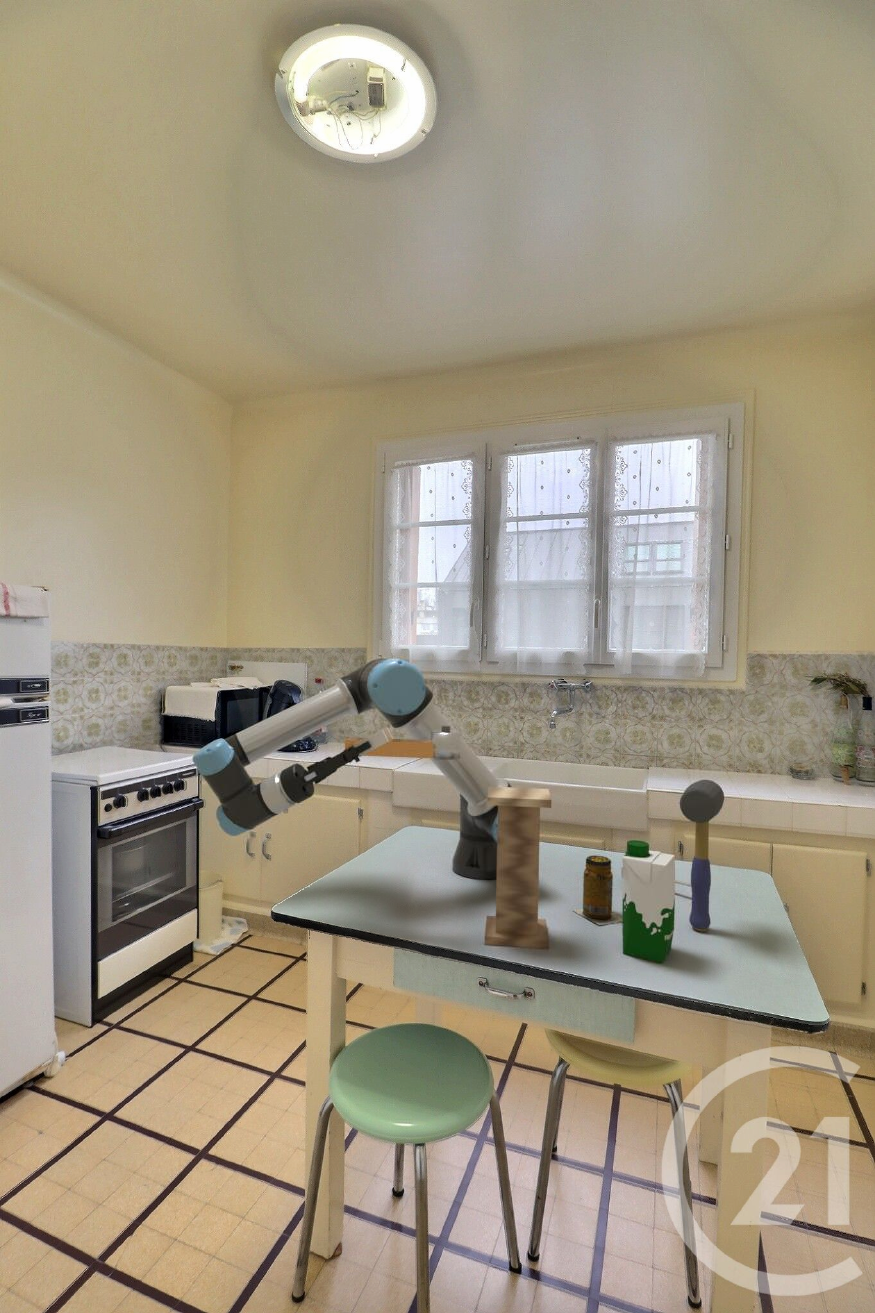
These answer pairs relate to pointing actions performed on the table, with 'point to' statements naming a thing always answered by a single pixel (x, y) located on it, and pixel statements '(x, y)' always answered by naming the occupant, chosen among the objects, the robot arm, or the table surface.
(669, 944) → the milk carton
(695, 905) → the rubber mallet
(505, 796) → the walnut stand
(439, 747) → the wooden handle
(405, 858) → the table surface
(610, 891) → the condiment
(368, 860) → the table surface
